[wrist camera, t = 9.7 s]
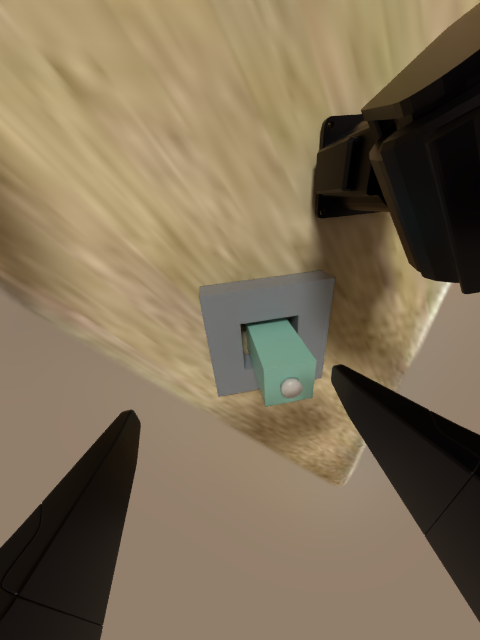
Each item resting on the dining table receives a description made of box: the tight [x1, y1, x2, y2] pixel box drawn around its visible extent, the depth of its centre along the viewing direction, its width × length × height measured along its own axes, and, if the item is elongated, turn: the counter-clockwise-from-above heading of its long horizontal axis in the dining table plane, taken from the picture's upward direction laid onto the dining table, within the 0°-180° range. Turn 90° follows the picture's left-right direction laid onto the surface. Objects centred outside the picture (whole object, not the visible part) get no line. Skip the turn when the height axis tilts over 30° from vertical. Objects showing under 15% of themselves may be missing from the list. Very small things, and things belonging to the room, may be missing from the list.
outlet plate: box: [199, 270, 335, 397], centre depth 22 cm, size 12×12×2 cm
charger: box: [245, 317, 317, 407], centre depth 20 cm, size 4×4×9 cm
